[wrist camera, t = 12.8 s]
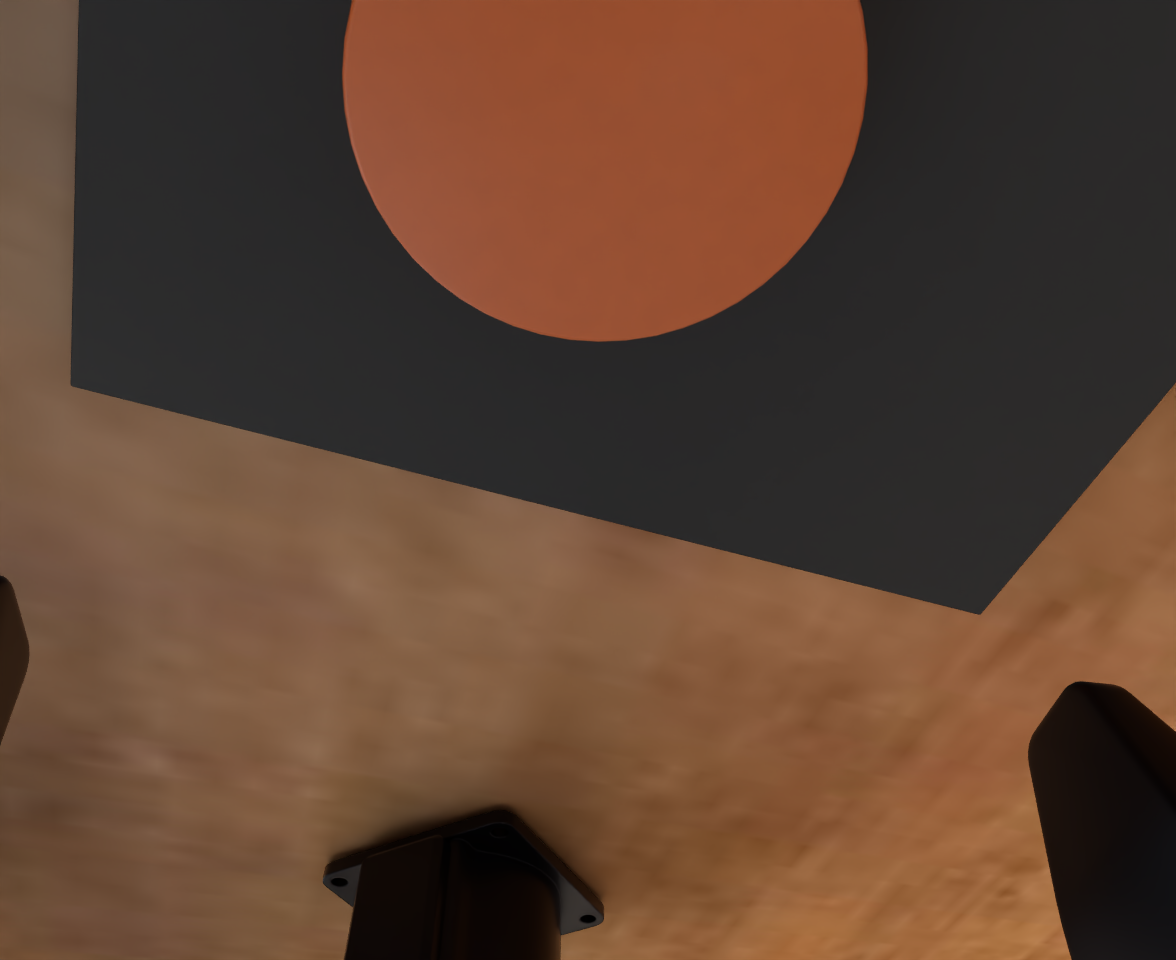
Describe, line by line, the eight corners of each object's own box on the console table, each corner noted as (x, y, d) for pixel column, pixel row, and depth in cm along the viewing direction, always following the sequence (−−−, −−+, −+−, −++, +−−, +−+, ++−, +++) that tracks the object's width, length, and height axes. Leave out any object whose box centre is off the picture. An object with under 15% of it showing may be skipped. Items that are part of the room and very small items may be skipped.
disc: (785, 368, 16) (952, -141, 11) (341, 313, 15) (339, -256, 11) (762, 298, 18) (897, -163, 13) (366, 245, 17) (374, -262, 12)
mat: (1486, -14, 15) (1506, -7, 15) (974, 603, 23) (980, 616, 23) (106, -668, 11) (92, -678, 10) (78, 375, 19) (69, 386, 18)
